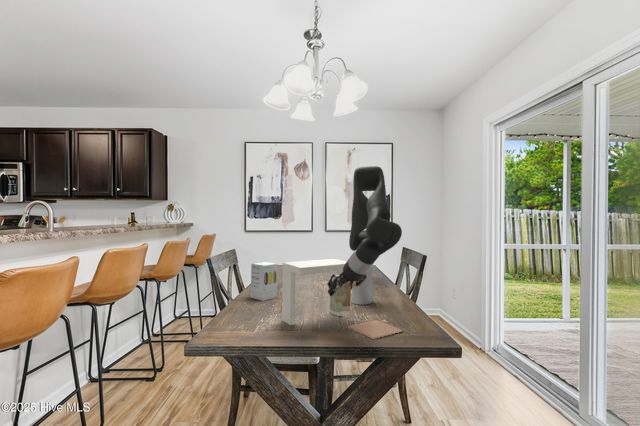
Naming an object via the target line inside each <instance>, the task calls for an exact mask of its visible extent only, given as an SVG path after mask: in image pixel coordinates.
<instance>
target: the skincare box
mask: <svg viewBox="0 0 640 426" xmlns="http://www.w3.org/2000/svg"><path fill="white" fill-rule="evenodd" d="M335 276H339V275H335ZM339 282H340V284H342V283H341V281H340V280H339ZM335 286H337V283H336V285H335ZM351 298H352V289H351V284H346V285H345V286H343V287H342V288H338V289H337V290H336V291H335V293H334V294H333V296H330V310H332V311H334V312H342V313H343V312H350V311H351Z"/></svg>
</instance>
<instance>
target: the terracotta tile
mask: <svg viewBox="0 0 640 426" xmlns="http://www.w3.org/2000/svg"><path fill="white" fill-rule="evenodd" d="M347 329H350V330H351V331H354V332H356V333H359V334H361V335H362V334H363V335H362V336H364V335H365V336H364V337H366V336H367V337H366V338H368V337H369V339H370V338H371V339H370V340H372V339H374V340H377V338H378V339H381V338H380V337H382V338H385V337H384V336H386V337H389V336H388V335H390V336H393V335H392V334H394V335H396V334H395V333H398V334H400V333H399V332H402V331H403V332H404V330H402V329H401V328H397V327H395V326H392V325H390V324H388V323H386V322H383V321H380V320H378V319H375V320H370V321H366V322H361V323H360V322H359V323H355V324H351V325H347ZM403 332H402V333H403Z"/></svg>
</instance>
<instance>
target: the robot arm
mask: <svg viewBox="0 0 640 426" xmlns="http://www.w3.org/2000/svg"><path fill="white" fill-rule="evenodd" d="M352 179H353V181H352V182H353V184H352V185H353V200H352V209H351V227H350V234H349V239H348V240H349V241H348V244H349V248H350V250H351V251H352V253H351V255H350V256H349V257H348V259H347V262H346V263H345V265H344V267H343V272H342V273H341V274H340V275H339V276H335V275H332V276H331V278H330V277H329V280H328V281H327V284H326V285H327V287H328V290H327V293H328V296H329V295H330V296H333V294H334V293H335V291H336V290H337V289H338V288H342V287H343V286H345V285H346V284H351V303H352V304H355V305H361V306H363V305H371V303H374V282H373V281H372V280H373V279H372V278H373V275H372V274H373V273H372V272H373V265H374V264H375V262H376V261H377V260H378V258H379V257H380V256H381V255H383V254H385V253H386V252H388V251H389V250H390V249H392V248H394V247H395V246H396V245H397V244H398V243H399V241H400V240H401V237H402V236H403V235H402V234H403V231H402V227H401V225H399V224H398V223H396V222H395V221H394V222H393V221H391V210H390V207H389V204H388V201H387V190H386V181H385V175H384V170H383V168H382V167H380V166H378V165H377V166H369V165H368V166H359V167H356V168H355V169H354V172H353V178H352ZM365 192H372V193H371V195H369V197H367V196H366V195H365V194H364V193H365ZM339 280H340V281H341V283H342V284H340V282H339ZM336 283H337V286H335V285H336Z"/></svg>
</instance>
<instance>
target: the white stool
mask: <svg viewBox="0 0 640 426" xmlns="http://www.w3.org/2000/svg"><path fill="white" fill-rule="evenodd" d="M347 261H348V260H347ZM347 261H345V260H342V259H337V258H327V259H315V260H314V259H313V260H302V261H288V262H282V303H281V304H282V308H281V310H282V311H281V313H282V315H281V316H282V319H281V321H282V322H284V323H286V324H287V325H289V326H294V325H296V274H297V275H299V276H303V275H313V274H322V273H329V279H330V278H331V276H332V275H340V274H341V273H342V272H343V267H344V265H345V263H346V262H347ZM328 296H329V297H328V299H329V300H328V302H329V303H328V307H329V308H328V311H329V314H332V315H334V316H336V317H342V316H343V311H342V312H334V311H332V310H330V295H329V294H328Z"/></svg>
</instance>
